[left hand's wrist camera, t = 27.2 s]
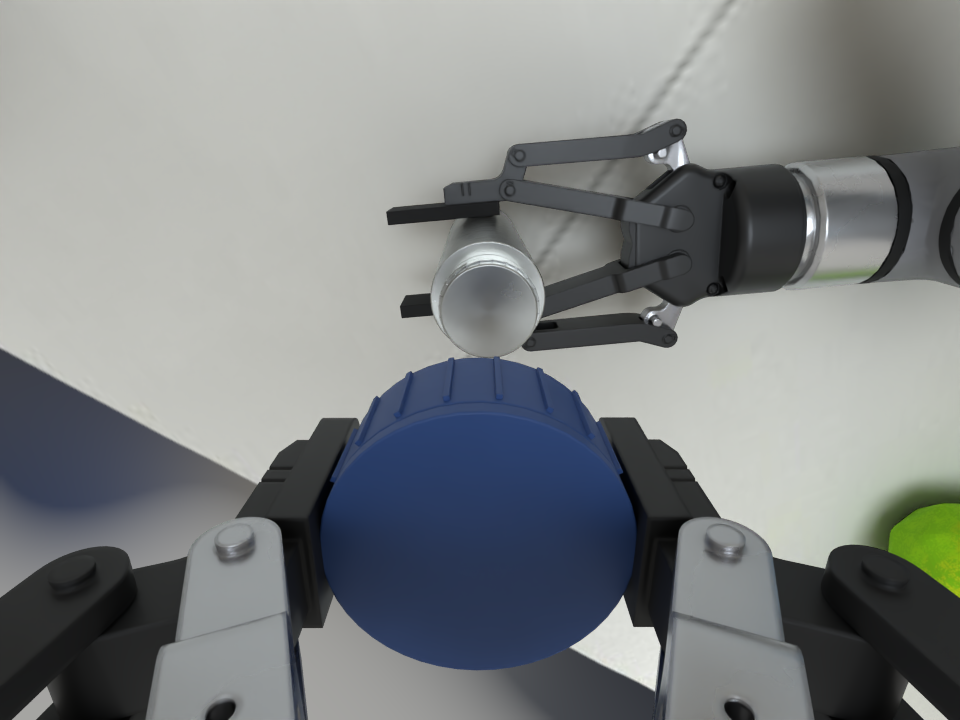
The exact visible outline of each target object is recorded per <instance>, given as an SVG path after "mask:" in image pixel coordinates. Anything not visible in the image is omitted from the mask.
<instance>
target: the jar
mask: <svg viewBox="0 0 960 720" xmlns="http://www.w3.org/2000/svg"><path fill="white" fill-rule="evenodd" d="M430 297H431V307H432V312H433V315H434V318H435V320H436V322H437V324H438V326H439V327H440V329H441V330H442V332H443V333H444V334H445V335H446V336H447V337H448V338H449V339H450V340H451V341H452V342H453V343H454V344H455V345H456V346H457V347H458V348H459V349H461V350H462V351H464V352H466V353H468V354H470V355H473V356H477V357H482V358H494V356H497V357H500V356H504V355H507V354H509V353H511V352H513V351H515V350H517V349H518V348H519V347H521V346H522V345H523V344H524V343H525V342H526V341H527V339H528V338H529V337H531V335H532V333H533V331H534V329H535V328H536V326H537V325H538V323H539V321H540V319H541V317H542V314H543V310H544V305H545V287H544V283H543V279H542V277H541V274H540V272H539V270H538V269H537V267H536V265H535V263H534V261H533V260H532V258H531V256H530V254H529V252H528V250H527V249H526V247H525V245H524V243H523V241H522V240H521V238H520V236H519V234H518V232H517V230H516V229H515V227H514V225H513V223H512V221H511V220H510V219H509V217H508V216H507V215H506V214H505V213H503V212H502V211H501V210H500V215H495V216H483V217H473V218H461V219H456V220H455V221H454V223H453V225H452V227H451V230H450V233H449V236H448V239H447V242H446V244H445V247H444V250H443V253H442V256H441V259H440V262H439V265H438V268H437V271H436V274H435V277H434V279H433V283H432V287H431V296H430Z"/></svg>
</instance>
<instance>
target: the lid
mask: <svg viewBox="0 0 960 720" xmlns="http://www.w3.org/2000/svg"><path fill="white" fill-rule="evenodd" d="M621 473H623V471H622V468H621V466H620V464H619V462H618V460H617V457H616V455H615V453H614V451H613V448H612V446H611V444H610V442H609V440H608V437H607V435H606V433H605V431H604V428H603V426H602V424H601V422H600V421H598V422H596V421H595V420H594V418H593V417H592V415H591V413H590V412H589V410H588V409H587V408H586V406H585V405H584V404H583V403H582V402H581V400H580V397H579V395H578V393H577V392H576V391H575V390H574V391H572V392H571V391H570V390H569V389H568V388H567V387H565V386H564V385H563V384H561V383H560V382H558V381H557V380H555V379H554V378H552V377H551V376H549V375H547V374H545V373H543V369H541V368H539V367H538V368H537V369H534V368H532V367H529V366H526V365H523V364H520V363H516V362H511V361H507V360H502V359H500V357H497V356H494V359H492V358H463V359H457V360H454V358H449V359H448V361H445V362H442V363H438V364H435V365H432V366H428V367H426V368H424V369H421V370H419V371H417V372H415V373H412V372H411V371H410V372H408V373H407V374H406V377H405V378H404V379H402V380H401V381H399V382H397V383H396V384H395V385H394V386H392V387H391V388H390V389H389V390H387V391H386V392H385V393H384V394H383V395H382V396H381V397H380V398H379V397H378V396H376V397H375V398H374V399H373V401H372V404H371V406H370V408H369V411H368V413H367V414H366V416H365V417H364V419H363V421H362V423H361V425H360V427H359V429H358V430H357V429H355V428H354V429H353V431H352V434H351V436H350V438H349V440H348V442H347V445H346V447H345V449H344V451H343V453H342V456H341V458H340V460H339V462H338V464H337V466H336V469H335V471H334V473H333V475H332V477H331V480H330V481H331V482H334V485H333V488H332V490H331V492H330V494H329V497H328V499H327V502H326V505H325V508H324V511H323V514H322V519H321V526H320V541H321V550H322V558H323V565H324V572H325V575H326V578H327V581H328V584H329V586H330V588H331V590H332V592H333V594H334V595H335V597H336V599H337V601H338V602H339V603H340V605H341V606H342V607H343V609H344V610H345V612H346V613H347V614H348V615H349V616H350V617H351V618H352V619H353V621H354V622H355V623H356V624H357V625H358V626H359V627H361V628H362V629H363V630H364V631H365V632H367V633H368V634H369V635H370V636H371V637H373V638H374V639H376V640H377V641H379V642H381V643H382V644H384V645H385V646H387V647H389V648H390V649H392V650H395V651H397V652H399V653H401V654H403V655H405V656H408V657H410V658H413V659H416V660H418V661H421V662H425V663H429V664H432V665H436V666H441V667H447V668H454V669H464V670H496V669H503V668H511V667H516V666H521V665H525V664H529V663H533V662H536V661H539V660H542V659H545V658H547V657H550V656H552V655H554V654H556V653H559V652H561V651H563V650H565V649H567V648H569V647H570V646H572V645H574V644H575V643H577V642H579V641H580V640H582V639H583V638H584V637H586V636H587V635H588V634H589V633H591V632H592V631H593V630H595V629H596V628H597V627H598V626H599V625H600V624H601V623H602V622H603V621H604V620H605V619H606V618H607V617H608V616H609V614H610V613H611V612H612V610H613V609H614V608H615V607H616V605H617V604H618V603H619V601H620V599H621V597H622V596H623V594H624V592H625V591H626V589H627V586H628V584H629V581H630V579H631V576H632V570H633V562H634V554H635V546H636V537H637V524H636V519H635V515H634V511H633V507H632V504H631V502H630V499H629V497H628V495H627V492H626V490H625V488H624V485H623V483H622V481H621V478H620V476H619V474H621Z"/></svg>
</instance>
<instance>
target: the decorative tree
mask: <svg viewBox="0 0 960 720" xmlns="http://www.w3.org/2000/svg"><path fill="white" fill-rule="evenodd" d="M888 552H890V553H892V554H895V555H897V556H899V557H901V558H903V559H905V560H907V561H909V562H911V563H912V564H914V565H916V566H917V567H919V568H920V569H921V570H923V571H924V572H926V573H927V574H928V575H930V576H931V577H932V578H934V579H935V580H936V581H938V582H939V583H940V584H942V585H943V586H944V587H946V588H947V589H948V590H950V591H951V592H953V593H954V594H955V595H957V596H958V597H959V598H960V504H955V503H942V504H937V505H933V506H928V507H924V508H919V509H917V510H915V511H913V512H912V513H911V514H910V515H908V516H907V517H906V518H904V519H903V520H902V521H901V522H899V523H898V524H897V525H895V526H894V527H893V529H892V530H891V532H890V537H889V548H888Z"/></svg>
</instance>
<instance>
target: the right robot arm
mask: <svg viewBox="0 0 960 720" xmlns="http://www.w3.org/2000/svg"><path fill="white" fill-rule="evenodd" d="M686 132H687V126H686V124H685V122H684V121H682V120H681V119H673V120H666V121H662V122H658V123H656V124H654V125H652V126H650V127H648V128H646V129H643V130H641V131H639V132H637V133H635V134H632V135H621V136H609V137H597V138H585V139H573V140H561V141H550V142H538V143H526V144H517V145H513V146H512V147H510V148H509V150H508V152H507V156H506V160H505V164H504V168H503V171H502V173H501V174H500V175H499V176H498V177H496V178H494V179H488V180H477V181H466V182H456V183H451V184H450V185H448V186H446V187H444V188H443V189H444V198H445V203H436V204H425V205H414V206H403V207H393V208H392V209H390V210H388V211H387V212H386V213H387V220H388V225H395V224H406V223H417V222H428V221H439V220H450V219H461V218H473V217H483V216H495V215H500V209H499V201H511V202H517V203H523V204H529V205H534V206H540V207H546V208H552V209H558V210H564V211H570V212H576V213H582V214H588V215H594V216H600V217H605V218H611V219H616V220H620V221H621V229H622V233H623V237H624V242H623V246H622V250H621V259H619V260H616V261H613V262H610V263H608V264H606V265H605V266H604V267H601V268H598V269H595V270H593V271H590V272H587V273H584V274H581V275H578V276H575V277H572V278H569V279H566V280H563V281H560V282H557V283H554V284H551V285H548V286H546V287H545V305H544V310H543V314H542V317H541V318H543V317H546V316H549V315H552V314H555V313H558V312H561V311H564V310H567V309H570V308H573V307H576V306H579V305H582V304H585V303H588V302H591V301H594V300H597V299H600V298H603V297H606V296H609V295H612V294H616V293H626V292H629V291H632V290H635V289H638V288H641V287H644V288H646V289H648V290H649V291H651V292H652V293H654V294H656V295H657V296H659V297H660V298H662V299H664V300H663V302H662V303H661V304H660V305H658V306H656V307H647V308H646V309H644V310H643V311H642V313H641V314H637V313H619V314H609V315H598V316H587V317H577V318H566V319H556V320H545V321H539V323H538V325H537V326H536V328H535V329H534V331H533V333H532V335H531V337H529V338H528V339H527V341H526V342H525V343H524V344H523V345H522V347H523V349H524V350H526V351H540V350H551V349H561V348H572V347H583V346H594V345H605V344H616V343H626V342H637V341H641V342H645V343H649V344H653V345H657V346H661V347H665V348H669V347H672V346H673V345H675V343H676V342H677V338H678V337H677V334H676V332H675V331H674V328H675V325H676V323H677V320H678V318H679V315H680V313H681V310H682V308H683V307H686V306H689V305H691V304H693V303H695V302H696V301H698V300H700V299H702V298H705V297H711V296H726V295H738V294H749V293H761V292H772V291H776V290H778V289H780V288H784V289H786V290H799V289H809V288H819V287H829V286H839V285H849V284H863V283H871V282H886V281H900V280H933V281H938V282H941V283H945V284H948V285H952V286H955V287H959V288H960V147H954V148H944V149H935V150H926V151H917V152H909V153H900V154H892V155H883V156H859V157H847V158H836V159H825V160H813V161H802V162H794V163H789V164H787V165H786V166H784V167H783V166H781V165H778V164H770V165H759V166H748V167H737V168H726V169H715V170H708V169H705V168H703V167H701V166H699V165H696V164H691V163H690V162H689V159H688V156H687V152H686V149H685V146H684V142H683V138H684V136H685V135H686ZM641 156H644V158H645V160H646V161H647V162H648V163H651V164H664V165H666V167H667V168H668V171H667V172H665V173H664V174H663V175H662V176H660V177H659V178H658V179H657V180H656V181H654V182H653V183H652V184H651V185H650V186H648V187H647V188H646V189H645V190H644V191H642V192H641V193H640V194H639V195H638V196H636V197H635V198H628V197H622V196H616V195H610V194H603V193H597V192H591V191H586V190H580V189H574V188H568V187H562V186H557V185H551V184H545V183H539V182H533V181H527V180H523V178H524V175H525V171H526V167H527V166H538V165H550V164H562V163H574V162H586V161H598V160H610V159H622V158H634V157H641ZM430 296H431V293H429V294H417V295H406V296H405V298H404V300H403V302H402V304H401V306H400V309H401V316H402V318H409V317H420V316H432V315H433V312H432V307H431V297H430Z"/></svg>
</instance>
